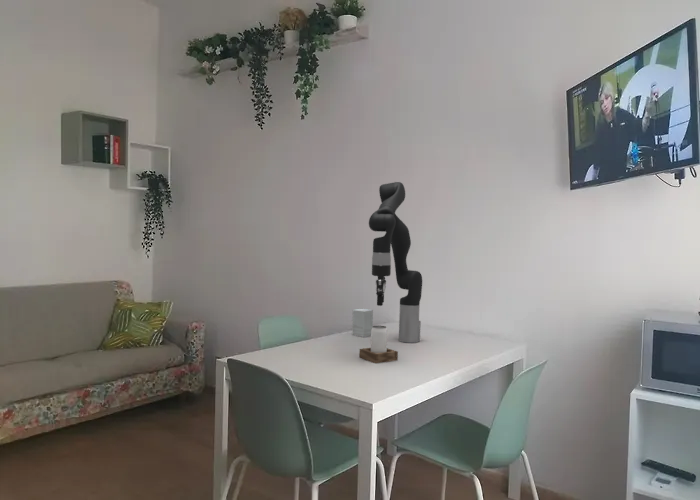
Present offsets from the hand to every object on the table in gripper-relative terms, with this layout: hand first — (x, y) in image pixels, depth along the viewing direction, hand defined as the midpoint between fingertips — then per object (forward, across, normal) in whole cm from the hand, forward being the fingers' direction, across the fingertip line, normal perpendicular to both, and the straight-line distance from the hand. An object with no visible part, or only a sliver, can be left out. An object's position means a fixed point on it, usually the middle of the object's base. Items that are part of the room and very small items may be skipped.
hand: (380, 304), depth 225 cm
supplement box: (+23, -47, -11) cm, 53 cm away
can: (+21, +1, 0) cm, 21 cm away
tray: (+22, +1, 0) cm, 22 cm away
